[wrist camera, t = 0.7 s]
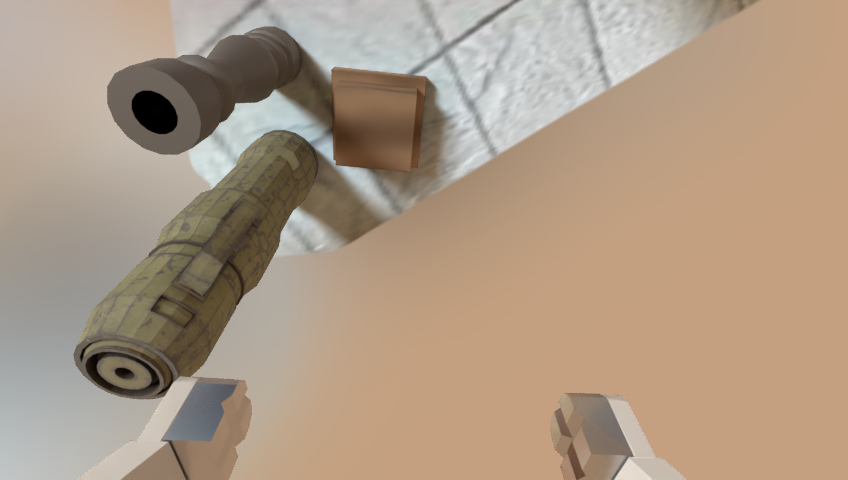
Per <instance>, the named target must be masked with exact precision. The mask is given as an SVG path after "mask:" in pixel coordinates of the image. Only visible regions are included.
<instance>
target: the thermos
mask: <svg viewBox="0 0 848 480" xmlns="http://www.w3.org/2000/svg"><path fill="white" fill-rule="evenodd" d="M317 171H318V160H317V155H316V154H315V152H314V150H313V148H312V146H311V145H310V144H309V143H308V142H307V141H306V140H305V139H304V138H302V137H301V136H299V135H297V134H296V133H293V132H290V131H286V130H274V131H271V132H268V133H266V134H264V135H263V136H262V137H261V138H259V139H257V140H256V141H255V142H254V143H252V144H251V145H250V146H249V147H248V148H247V149H246V150H245V151H244V152H243V153H242V154H241V155H240V158H239V160H238V162H237V165H236V167H234V168H233V169H232V170H231V171H230V172H229V173H228V174H227V175H226V176H225V177H224V178H223V179H222V180H221V181H220V182H219V183H218V184H217V185H216V186H215V187H214V188H213V189H212V190H209V191H206V192H203V193H201V194H200V195H199V196H198V197H196V198H195V199H194V200H193V201H192V202H191V203H190V204H189V205H188V206H187V207H185V208H184V209H183V211H181V212H180V213H179V214H178V215H177V216H176V217H175V218H174V219H173V220H172V221H171V222H170V223H169V224H168V225H166V226H165V227H164V228H163V229H162V232H161V234H160V237H159V239H158V242H157V245H156V247H155V249H153V250H152V251H151V252H150V253H149V256H148V257H146V258H145V259H144V260H143V261H142V262H141V263H140V264H138V265H137V266H136V267H135V268H134V269H133V270H132V271H131V272H130V273H129V274H128V275H127V276H126V277H125V278H124V279H123V280H122V281H121V282H120V283H119V284H118V285H117V286H116V287H115V288H114V289H113V290H112V291H111V292H110V293H109V294H108V295H107V296H106V297H105V298H104V299H103V300H102V301H101V302H100V303H99V304H98V305H97V306H96V307H95V308H94V309H93V310H92V312H91V314H90V316H89V318H88V321H87V323H86V325H85V327H84V330H83V332H82V334H81V337H80V339H79V342H78V344H77V346H76V349H75V352H74V359H75V363H76V366H77V367H78V369H79V370H80V371H81V373H82V374H83V375H84V376H85V377H86V378H87V379H88V380H90V381H91V382H92V383H93V384H95V385H96V386H97V387H99V388H101V389H103V390H105V391H106V392H108V393H111V394H115V395H117V396H120V397H126V398H132V399H156V398H160V397H163V396H165V395H166V393H167V392H168V390H169V389H170V387H171V385H172V384H173V382H175V381H176V380H177V379H178V378H179V377H180V376H182V377H190V376H191V375H193V374H194V373H195V372H196V371H197V370H198V369H199V368H200V367H201V366H202V365H203V364H204V363H205V361H206V360H207V358H208V356H209V355H210V353H211V351H212V349H213V348H214V346H215V344H216V342H217V341H218V339H219V337H220V335H221V333H222V332H223V330H224V328H225V327H226V325H227V323H228V321H229V320H230V318H231V316H232V314H233V313H234V311H235V309H236V305H238V304H239V302H240V300H241V299H242V297H243V296H244V295H245V294H246V293H248V292H249V291H250V290H252V289H253V288H254V287H256V286H257V284H258V283H259V281H260V279H261V278H262V276H263V274H264V272H265V270H266V269H267V267H268V265H269V263H270V261H271V259H272V258H273V256H274V254H275V252H276V250H277V248H278V246H279V242H280V233H281V231H282V229H283V228H284V226H285V224H286V222H287V220H288V219H289V217H290V215H291V213H292V212H293V210H294V209H295V208H296V207H297V206H298V205H299V204H300V203H301V202H302V201H303V200H304V199H305V197H306V196H307V194H308V192H309V190H310V189H311V187H312V185H313V183H314V178H315V177H316V175H317Z"/></svg>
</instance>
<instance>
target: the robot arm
mask: <svg viewBox="0 0 848 480" xmlns="http://www.w3.org/2000/svg"><path fill="white" fill-rule="evenodd" d="M246 391H247V386H246V382H245V380H234V379H217V378H203V377H182V376H180V377H179V378H178V379H177V380H176V381H175V382H173V384H172V385H171V387H170V389H169V390H168V392H167V393H166V395H165V397H164V398H163V400H162V402H161V403H160V405H159V406H158V408H157V409H156V411H155V412H154V414H153V416H152V417H151V419H150V420H149V422H148V424H147V425H146V427H145V428H144V430H143V432H142V433H141V435H140V436H139V438H138V440H130V441H129V442H127V443H126V444H124V445H123V446H122V447H120V448H119V449H118V450H116V451H115V452H113V453H112V454H111V455H109V456H108V457H107V458H105V459H104V460H102V461H101V462H99V463H98V464H97V465H95V466H94V467H93V468H91V469H90V470H88V471H87V472H86V473H84V474H83V475H82V476H80V477H79V478H77V479H76V480H229V478H230V475H231V473H232V470H233V467H234V465H235V462H236V460H237V457H238V456H237V452H236V449H235V447H236V446H237V445H238V444H239V443H240V442H241V441H242V440H244V439H245V436H246V434H247V431H248V428H249V425H250V420H251V415H252V412H251V411H252V410H251V409H252V408H251V407H252V406H251V402H250V399H248V398H247V397H246V396H245V393H246ZM559 404H560V407H561V408H559V409H558V410H556V411H555V412H554V414H553V416H552V419H551V435H552V440H553V444H554V448H555V450H556V451H557V452H558V453H559V454H560V455H561V456H562V457H563V461H562V464H561V466H560V467H561V471H562V474H563V477H564V480H687V479H686V478H684V477H683V476H682V475H681V474H680V473H679V472H678V471H676V470H675V469H674V468H673V467H672V466H671V465H670V464H668V463H667V462H666V461H665V460H664V459H663V458H657V457H656V456H655V454H654V452H653V450H652V449H651V447H650V445H649V443H648V441H647V439H646V437H645V435H644V433H643V431H642V429H641V427H640V425H639V424H638V422H637V420H636V418H635V416H634V414H633V412H632V410H631V408H630V406H629V404H628V402H627V400H626V399H625V398H624V397H623V396H621V395H601V394H585V393H584V394H583V393H564V394H563V395H561V397H560V400H559Z"/></svg>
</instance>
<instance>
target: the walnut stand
mask: <svg viewBox="0 0 848 480" xmlns="http://www.w3.org/2000/svg"><path fill="white" fill-rule="evenodd" d="M425 88H426V77H425V76H415V75H406V74H397V73H387V72H378V71H368V70H359V69H350V68H340V67H334V68H333V69H332V110H333V153H334V160H336V165H339V166H350V167H361V168H372V169H383V170H394V171H405V172H410V167H415V168H418V158H419V148H420V138H421V128H422V118H423V108H424V98H425Z"/></svg>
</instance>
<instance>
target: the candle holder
mask: <svg viewBox="0 0 848 480" xmlns="http://www.w3.org/2000/svg"><path fill="white" fill-rule="evenodd" d="M300 65H301V56H300V50H299V48H298V46H297V44H296V42H295V40H294V39H293V38H292V37H291V36H290V35H289V34H288V33H287V32H285V31H283V30H281V29H279V28H277V27H261V28H257V29H254V30H252V31H250V32H248V33H246V34H244V35H231V36H229V37H227V38H225V39H223V40H221V41H219V42H218V44H217V45H216V46H215V48H214V49H213V50H212V52H211V53H210V54H209V55H208V57H207V58H204V57H202V56H199V55H182V56H180V57H178V58H176V59H175V58H172V59H171V58H157V59H154V60H150V61H146V62H143V63H139V64H135V65H132V66H129V67H127V68H125V69H123V70H121V71H119V72H117V73H115V74H114V76H113V78H112V80H111V81H110V83H109V85H108V87H107V88H108V89H107V90H108V91H107V93H108V94H107V97H108V98H107V99H108V106H109V108H110V111H111V113H112V116H113V118H114V121H115V122H116V123H117V125H118V126H119V127H120V128H121V129H122V131H123V132H124V133H125V134H126V135H127V137H129V138H130V139H131V140H133V141H134V142H136V143H137V144H139V145H140V146H141V147H143V148H145V149H147V150H150V151H153V152H156V153H159V154H180V153H182V152H185V151H187V150H189V149H191V148H193V147H194V146H195V145H197V144H198V143H200V142H201V141H202V140H204V139H205V138H207V137H208V136H210V135H211V134H212V133H213V131H214V130H215V129H216V127H217V126H218V125H219V123H220V122H223V121H225V120H226V119H227V118H228V117H229V116H230V114H231V113H232V112H233V110H234V107H235V103H255V102H259V101H261V100H263V99H266V98H267V97H269V96H270V94H271V93H272V92H273V91H274V89H277V88H280V87H282V86H284V85H286V84H287V83H289V82H290V81H291V80H293V79H294V77H295V76H296V75H297V74H298V72H299V70H300Z"/></svg>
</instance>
